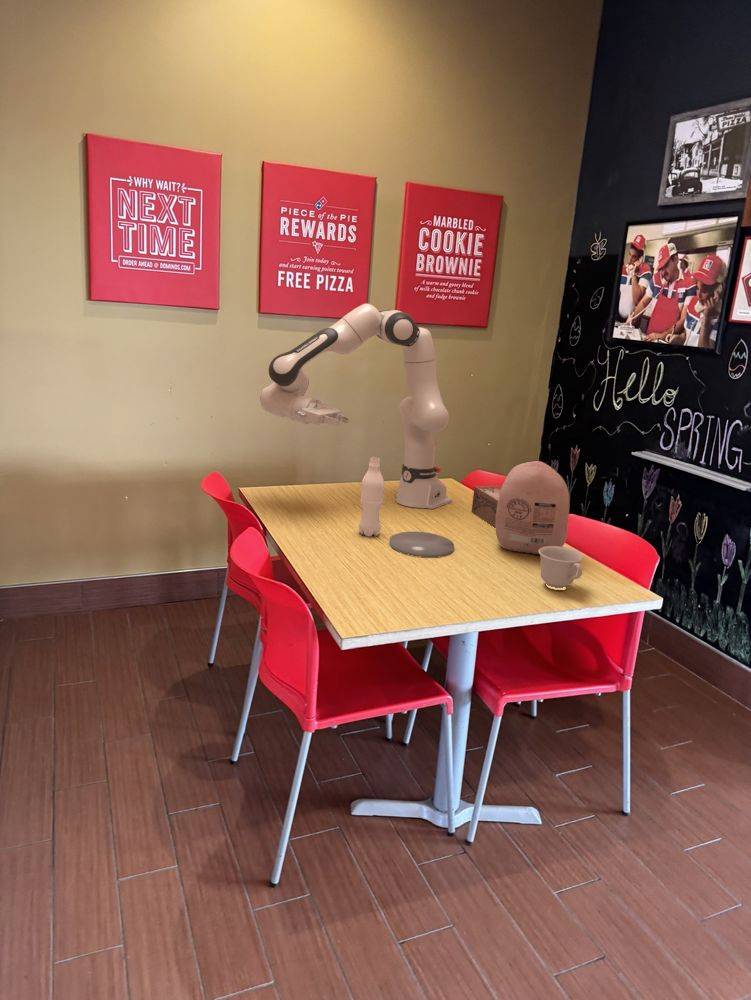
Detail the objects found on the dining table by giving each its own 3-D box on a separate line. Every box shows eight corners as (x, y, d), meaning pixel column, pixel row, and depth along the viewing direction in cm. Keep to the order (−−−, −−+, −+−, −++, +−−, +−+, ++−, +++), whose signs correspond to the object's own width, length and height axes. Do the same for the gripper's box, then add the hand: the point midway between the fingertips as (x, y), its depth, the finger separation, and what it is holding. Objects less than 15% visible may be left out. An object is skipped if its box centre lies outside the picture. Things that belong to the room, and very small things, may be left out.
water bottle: (381, 531, 234) (387, 456, 227) (379, 538, 227) (385, 461, 220) (359, 529, 234) (364, 454, 227) (356, 536, 227) (362, 459, 220)
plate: (418, 531, 237) (419, 527, 237) (466, 549, 224) (467, 545, 224) (376, 542, 223) (376, 539, 223) (424, 562, 210) (425, 558, 210)
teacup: (557, 602, 189) (563, 567, 186) (524, 580, 202) (529, 547, 199) (594, 598, 194) (600, 563, 191) (559, 577, 207) (565, 544, 204)
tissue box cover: (471, 512, 263) (474, 486, 260) (506, 511, 268) (509, 485, 265) (505, 536, 240) (508, 507, 237) (542, 534, 244) (547, 506, 242)
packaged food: (564, 548, 232) (578, 457, 223) (562, 569, 213) (577, 470, 205) (495, 537, 237) (507, 448, 228) (488, 556, 219) (500, 460, 210)
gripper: (294, 402, 230) (334, 414, 226) (318, 399, 249) (355, 410, 245) (290, 421, 231) (329, 433, 228) (315, 417, 250) (351, 428, 247)
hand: (343, 421), depth 237 cm, fingers open, 8 cm apart
